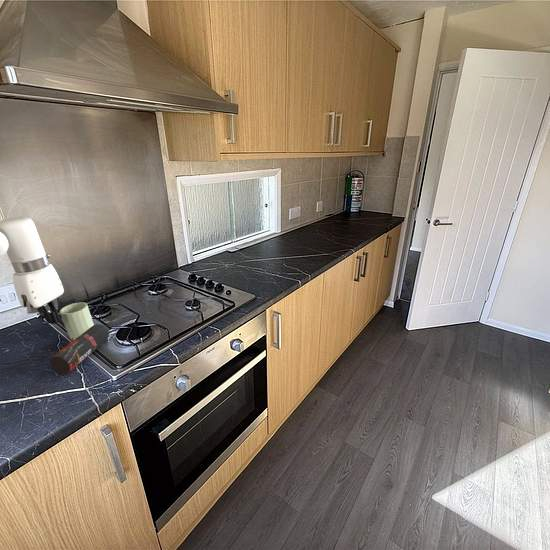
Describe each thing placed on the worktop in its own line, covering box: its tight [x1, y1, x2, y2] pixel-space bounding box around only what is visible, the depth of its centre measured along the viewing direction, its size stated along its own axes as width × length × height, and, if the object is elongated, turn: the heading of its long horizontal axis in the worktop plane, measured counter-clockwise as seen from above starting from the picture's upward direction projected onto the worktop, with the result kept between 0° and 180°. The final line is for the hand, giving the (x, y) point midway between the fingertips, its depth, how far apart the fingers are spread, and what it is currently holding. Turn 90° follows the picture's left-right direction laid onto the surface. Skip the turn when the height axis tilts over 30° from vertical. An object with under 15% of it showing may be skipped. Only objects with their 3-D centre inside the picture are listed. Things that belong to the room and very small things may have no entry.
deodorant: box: [49, 324, 110, 375], centre depth 84 cm, size 6×6×15 cm
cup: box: [59, 301, 95, 341], centre depth 94 cm, size 7×7×10 cm
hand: (54, 322), depth 86 cm, fingers closed
